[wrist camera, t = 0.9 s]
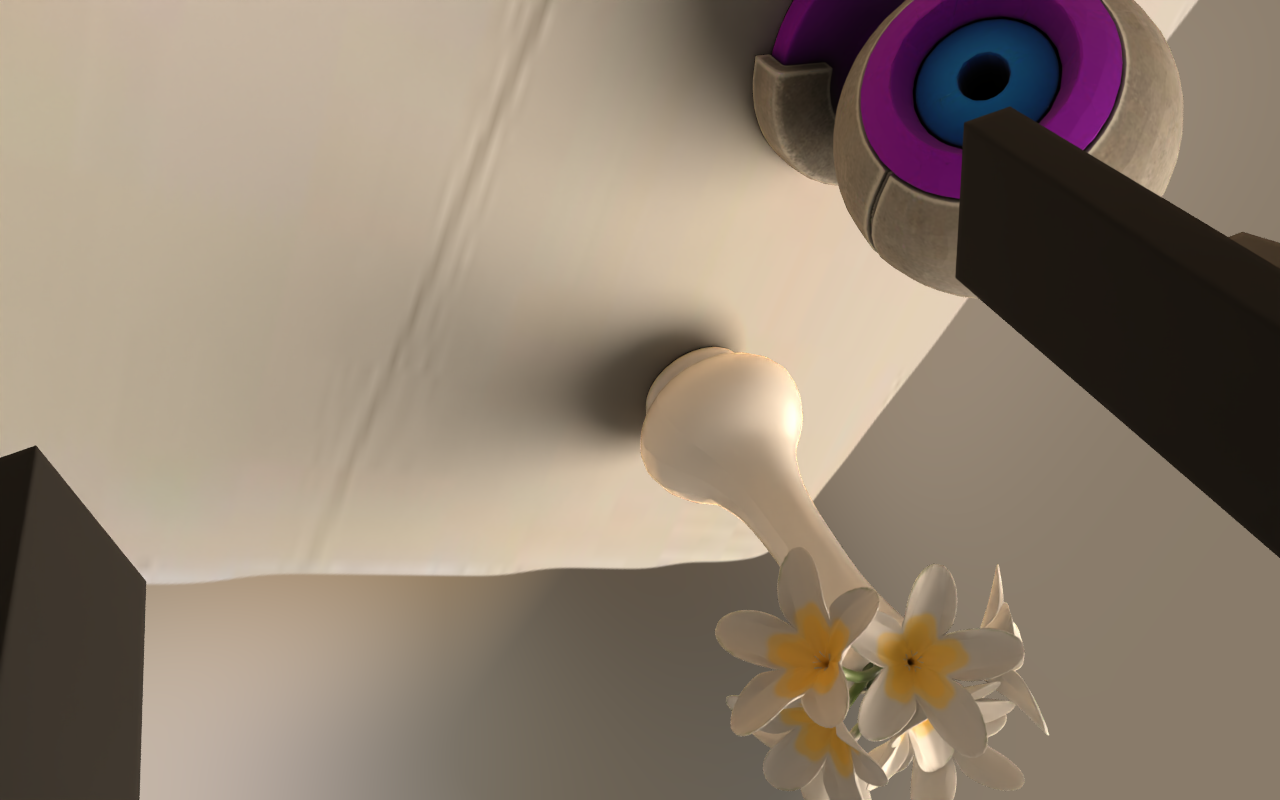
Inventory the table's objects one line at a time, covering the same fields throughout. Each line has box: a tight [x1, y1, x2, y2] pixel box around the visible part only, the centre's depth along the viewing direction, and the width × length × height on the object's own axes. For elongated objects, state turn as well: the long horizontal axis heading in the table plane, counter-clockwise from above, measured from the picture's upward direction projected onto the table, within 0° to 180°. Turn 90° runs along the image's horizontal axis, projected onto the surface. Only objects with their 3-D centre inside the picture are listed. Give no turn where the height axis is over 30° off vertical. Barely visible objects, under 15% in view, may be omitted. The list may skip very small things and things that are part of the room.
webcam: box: [753, 0, 1183, 299], centre depth 40 cm, size 13×13×15 cm
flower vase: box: [640, 347, 1049, 800], centre depth 48 cm, size 13×18×25 cm
